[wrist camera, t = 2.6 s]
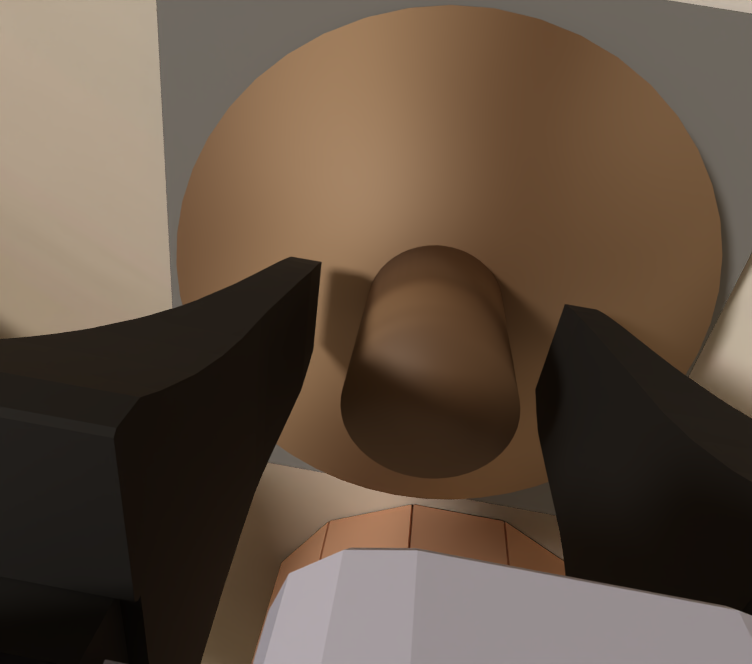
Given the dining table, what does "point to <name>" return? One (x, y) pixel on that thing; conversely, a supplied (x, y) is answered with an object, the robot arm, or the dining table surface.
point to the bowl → (422, 540)
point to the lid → (452, 232)
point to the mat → (549, 3)
